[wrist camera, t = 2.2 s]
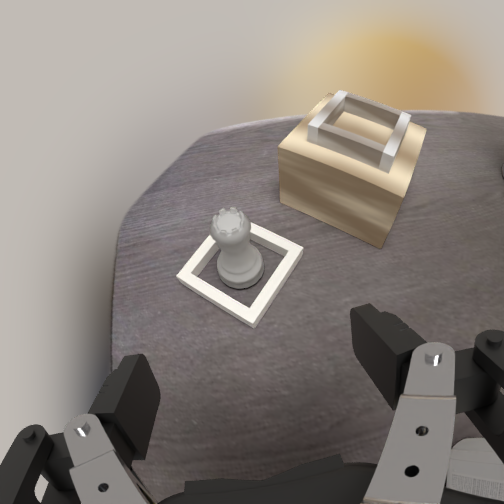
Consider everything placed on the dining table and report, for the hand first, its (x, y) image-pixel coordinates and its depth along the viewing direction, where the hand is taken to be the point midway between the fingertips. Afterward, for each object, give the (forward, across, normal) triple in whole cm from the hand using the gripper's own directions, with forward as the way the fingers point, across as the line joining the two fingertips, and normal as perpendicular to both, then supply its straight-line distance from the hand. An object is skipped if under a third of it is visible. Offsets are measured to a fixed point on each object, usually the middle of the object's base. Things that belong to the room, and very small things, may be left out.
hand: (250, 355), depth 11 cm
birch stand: (+24, -14, -3) cm, 28 cm away
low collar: (+19, 0, +2) cm, 19 cm away
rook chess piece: (+19, 0, +2) cm, 19 cm away
